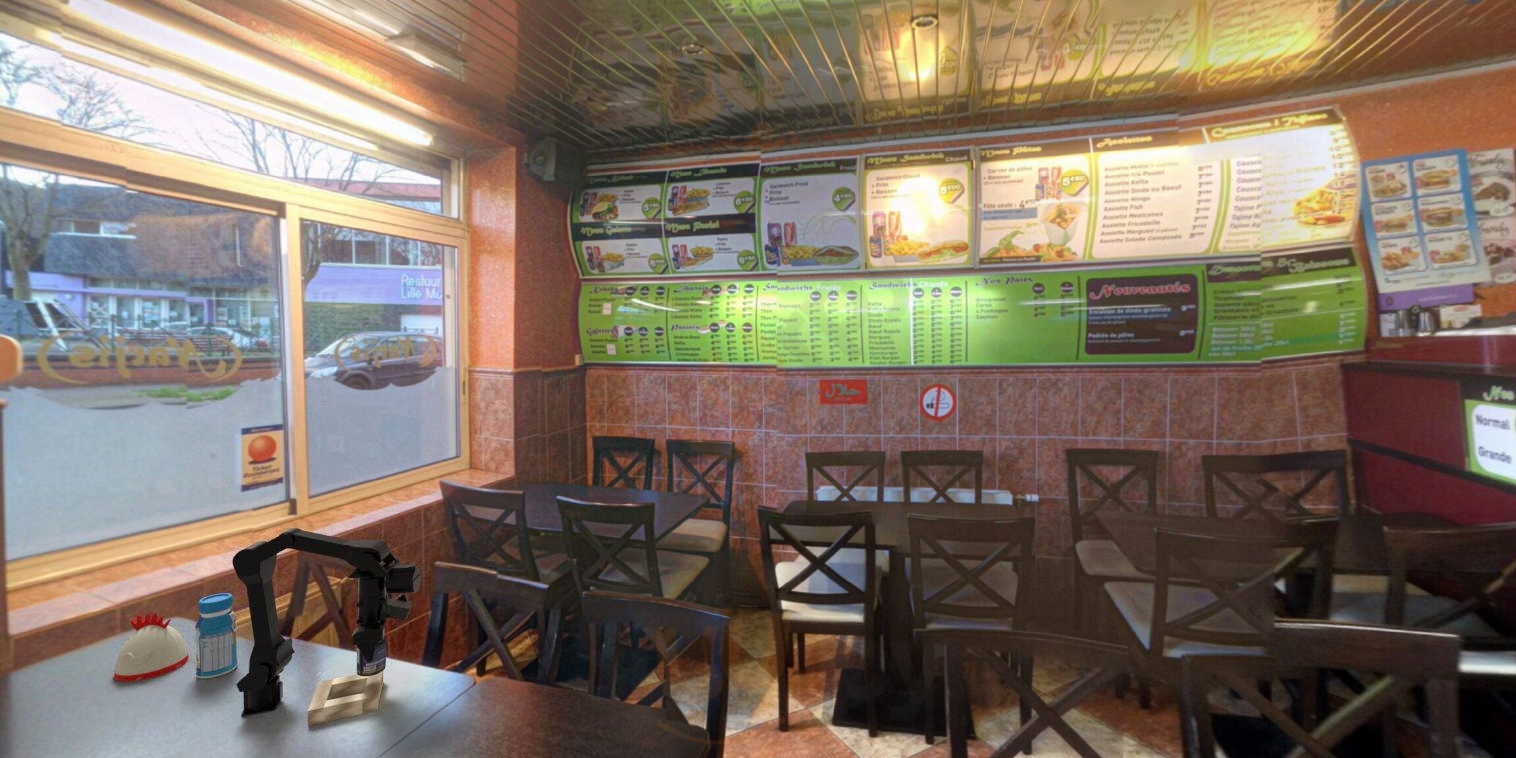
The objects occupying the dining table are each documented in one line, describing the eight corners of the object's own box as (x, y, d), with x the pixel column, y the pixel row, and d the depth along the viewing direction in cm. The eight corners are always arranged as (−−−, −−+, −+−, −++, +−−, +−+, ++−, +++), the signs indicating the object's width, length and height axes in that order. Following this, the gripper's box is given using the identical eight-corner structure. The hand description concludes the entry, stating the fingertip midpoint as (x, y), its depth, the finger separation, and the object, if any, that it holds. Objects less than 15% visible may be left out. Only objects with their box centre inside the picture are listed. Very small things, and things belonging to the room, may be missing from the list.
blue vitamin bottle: (212, 681, 152) (210, 605, 151) (186, 677, 154) (184, 602, 153) (246, 664, 160) (245, 592, 159) (221, 661, 162) (220, 589, 161)
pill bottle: (391, 665, 149) (392, 623, 149) (373, 678, 143) (374, 634, 143) (368, 663, 150) (369, 621, 149) (350, 676, 144) (350, 632, 143)
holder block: (307, 725, 135) (307, 710, 135) (319, 695, 147) (319, 681, 147) (377, 710, 141) (377, 696, 141) (383, 682, 153) (383, 669, 153)
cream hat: (138, 658, 163) (137, 605, 162) (199, 651, 167) (198, 599, 166) (99, 685, 150) (98, 627, 149) (167, 677, 154) (166, 621, 153)
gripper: (407, 602, 141) (406, 666, 142) (411, 576, 158) (410, 633, 158) (351, 610, 136) (350, 676, 136) (362, 582, 152) (361, 641, 153)
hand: (371, 655), depth 146 cm, fingers closed on pill bottle, 6 cm apart
